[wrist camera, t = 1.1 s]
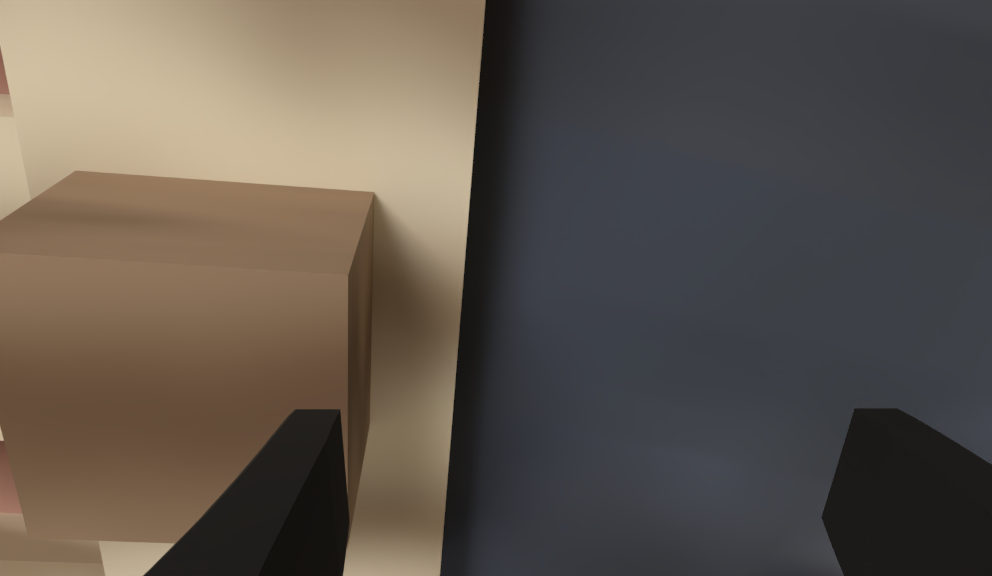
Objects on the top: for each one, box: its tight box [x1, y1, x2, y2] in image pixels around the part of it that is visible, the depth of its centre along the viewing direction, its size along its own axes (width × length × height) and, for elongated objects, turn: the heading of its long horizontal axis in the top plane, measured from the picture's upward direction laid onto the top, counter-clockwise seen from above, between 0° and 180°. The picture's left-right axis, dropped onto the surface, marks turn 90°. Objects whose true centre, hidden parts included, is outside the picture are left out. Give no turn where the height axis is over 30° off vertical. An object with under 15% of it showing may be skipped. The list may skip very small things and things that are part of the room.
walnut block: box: [0, 171, 374, 549], centre depth 15 cm, size 6×6×4 cm
